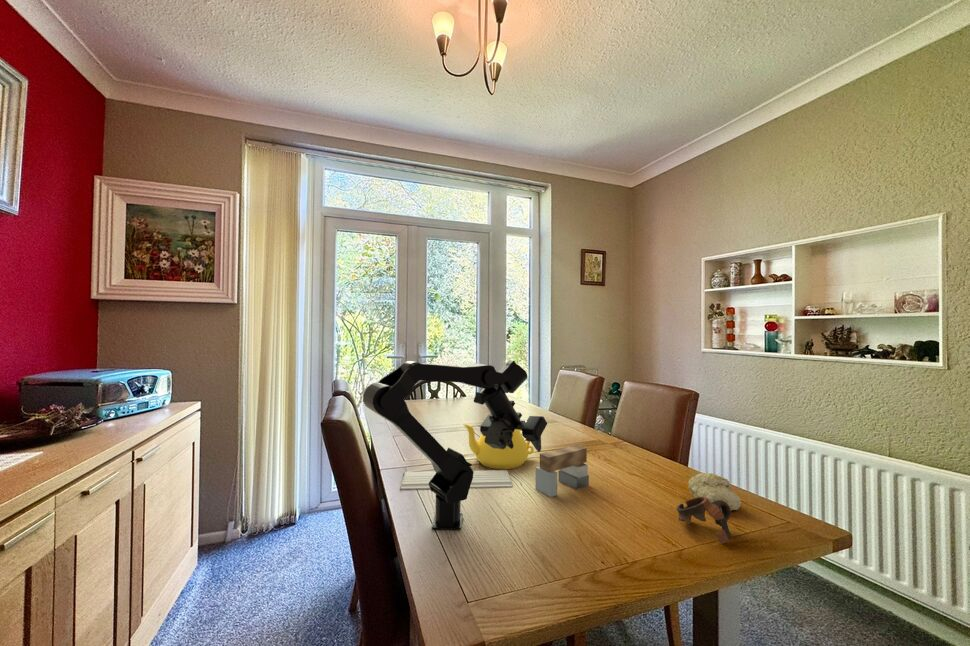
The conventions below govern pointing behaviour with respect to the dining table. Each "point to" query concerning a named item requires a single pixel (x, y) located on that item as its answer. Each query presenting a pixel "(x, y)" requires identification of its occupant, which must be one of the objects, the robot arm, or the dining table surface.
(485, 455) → the teapot
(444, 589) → the dining table surface
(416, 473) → the baseboard molding
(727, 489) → the decorative item
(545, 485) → the light gray rectangular block
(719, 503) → the dark curved fragment
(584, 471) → the grey stepped block
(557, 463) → the batten
